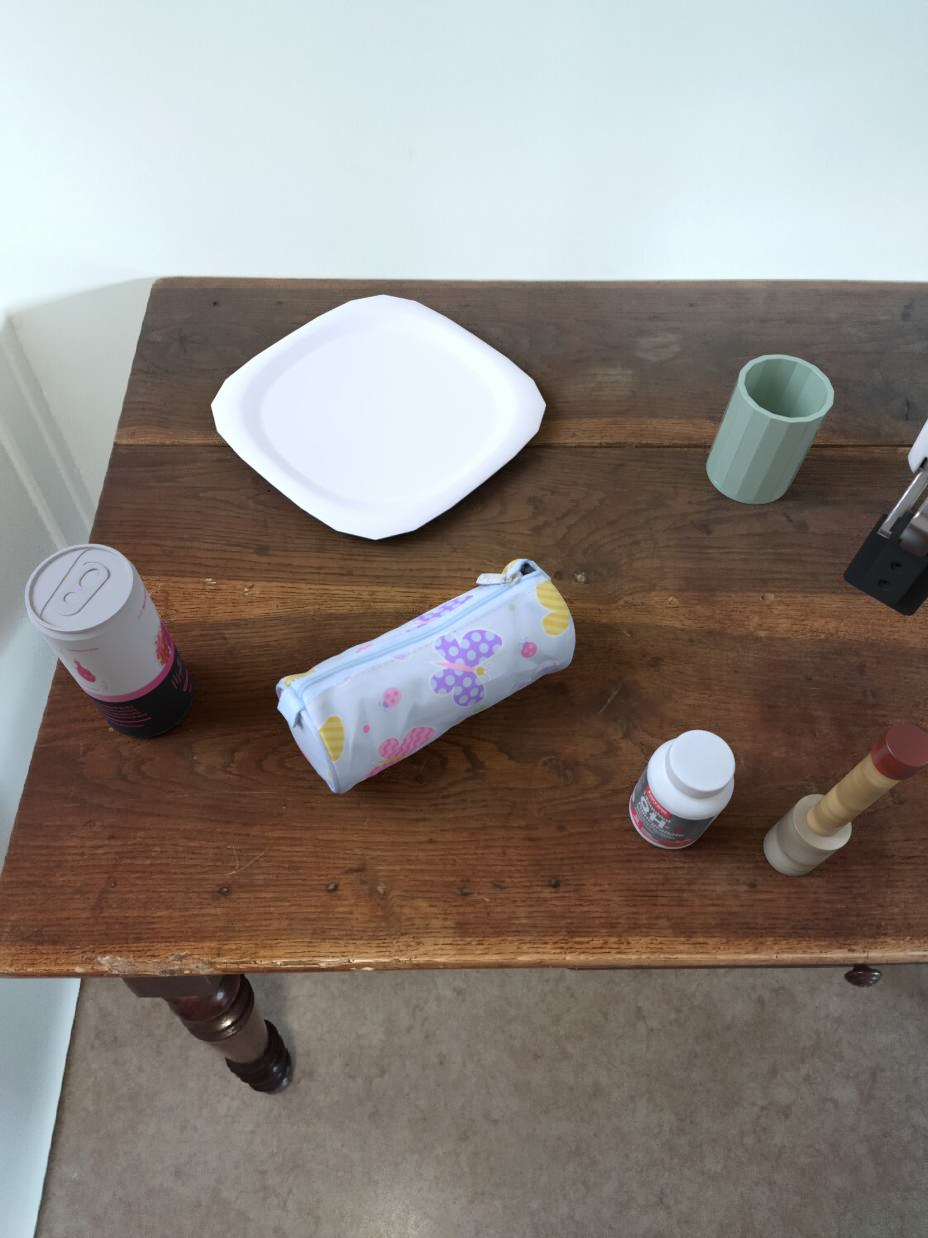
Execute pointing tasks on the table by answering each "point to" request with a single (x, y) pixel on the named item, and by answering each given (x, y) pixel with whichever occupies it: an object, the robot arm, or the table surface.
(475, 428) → the plate
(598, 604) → the table surface
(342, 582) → the table surface
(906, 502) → the robot arm
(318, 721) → the pencil case
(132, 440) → the table surface
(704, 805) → the pill bottle
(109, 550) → the beverage can
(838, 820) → the wooden rod
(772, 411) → the cup
